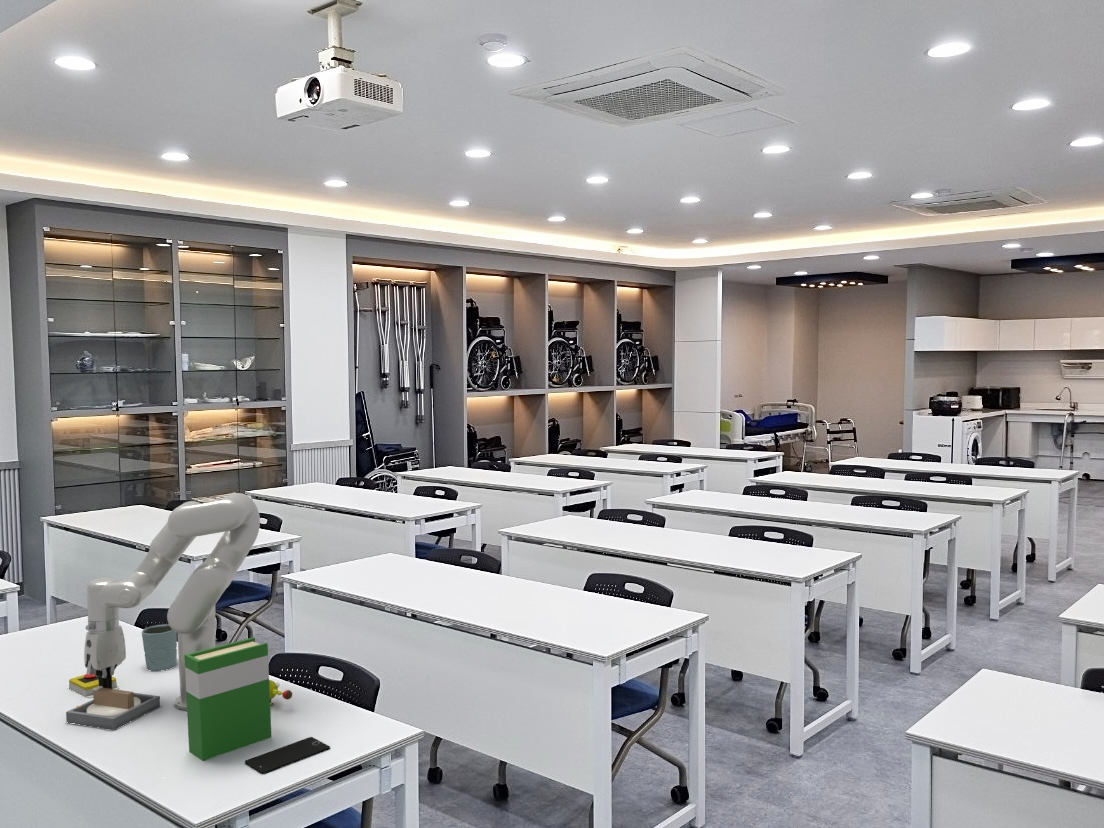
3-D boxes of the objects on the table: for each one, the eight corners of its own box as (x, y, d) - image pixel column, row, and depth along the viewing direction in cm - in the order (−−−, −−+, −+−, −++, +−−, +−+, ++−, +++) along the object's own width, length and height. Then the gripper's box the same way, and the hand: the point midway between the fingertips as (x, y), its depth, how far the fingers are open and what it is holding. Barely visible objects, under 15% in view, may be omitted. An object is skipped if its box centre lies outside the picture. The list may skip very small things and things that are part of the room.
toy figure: (299, 707, 243) (298, 682, 243) (284, 714, 239) (283, 689, 238) (254, 695, 252) (253, 671, 252) (238, 702, 248) (237, 678, 247)
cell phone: (331, 750, 217) (331, 746, 217) (262, 776, 204) (262, 772, 204) (311, 739, 223) (311, 736, 223) (243, 764, 210) (243, 760, 210)
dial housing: (160, 706, 245) (159, 695, 245) (113, 730, 230) (113, 718, 230) (114, 700, 251) (114, 689, 251) (66, 723, 236) (65, 711, 236)
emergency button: (97, 665, 269) (121, 675, 259) (98, 679, 269) (122, 690, 260) (64, 674, 262) (88, 685, 252) (65, 689, 262) (89, 700, 253)
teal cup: (162, 673, 272) (160, 635, 271) (135, 670, 275) (133, 632, 274) (186, 662, 281) (184, 625, 280) (160, 659, 284) (158, 622, 284)
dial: (151, 704, 244) (150, 683, 244) (113, 722, 232) (112, 701, 232) (114, 698, 249) (113, 678, 248) (75, 716, 237) (74, 695, 236)
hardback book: (257, 729, 229) (253, 637, 228) (271, 737, 224) (267, 643, 223) (189, 751, 217) (184, 654, 215) (202, 761, 212) (197, 661, 210)
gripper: (90, 633, 235) (92, 702, 237) (136, 618, 249) (137, 683, 250) (69, 630, 238) (71, 697, 239) (116, 615, 252) (118, 679, 253)
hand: (105, 690), depth 245 cm, fingers closed
